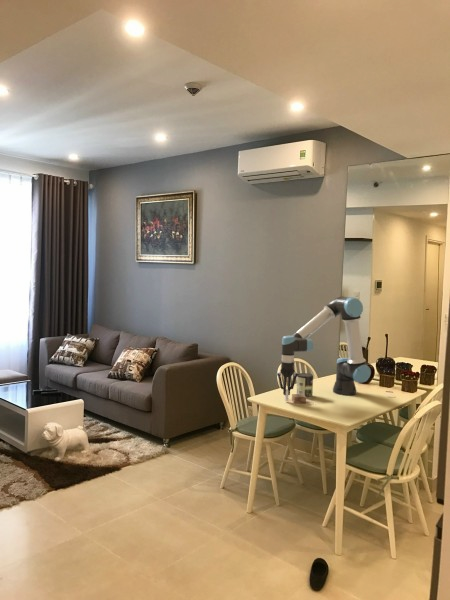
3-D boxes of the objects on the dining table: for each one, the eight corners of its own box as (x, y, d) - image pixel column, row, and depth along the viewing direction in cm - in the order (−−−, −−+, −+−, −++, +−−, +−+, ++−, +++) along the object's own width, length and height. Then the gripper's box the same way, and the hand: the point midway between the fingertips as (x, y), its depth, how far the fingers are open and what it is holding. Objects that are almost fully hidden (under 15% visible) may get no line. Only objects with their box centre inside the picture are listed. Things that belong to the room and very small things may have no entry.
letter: (310, 400, 299) (310, 399, 299) (315, 405, 288) (315, 404, 288) (285, 400, 298) (285, 399, 298) (289, 405, 287) (289, 404, 287)
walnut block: (303, 400, 297) (303, 394, 296) (305, 403, 290) (306, 397, 290) (291, 400, 296) (292, 394, 296) (294, 403, 289) (294, 397, 289)
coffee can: (312, 395, 312) (313, 373, 311) (312, 399, 301) (313, 377, 301) (296, 394, 314) (297, 372, 313) (295, 398, 303) (296, 375, 303)
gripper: (296, 360, 295) (295, 398, 296) (275, 360, 294) (274, 398, 295) (299, 363, 288) (298, 402, 289) (278, 362, 286) (276, 402, 288)
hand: (286, 400), depth 292 cm, fingers closed
